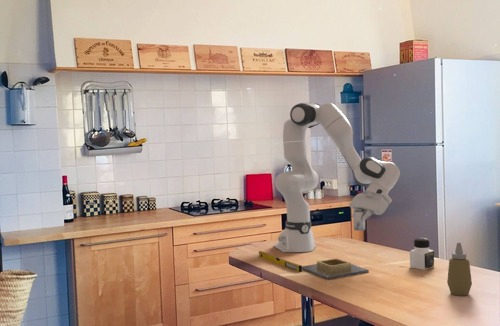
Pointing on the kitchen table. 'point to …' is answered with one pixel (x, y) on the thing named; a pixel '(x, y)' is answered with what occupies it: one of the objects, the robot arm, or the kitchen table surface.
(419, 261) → the medicine bottle
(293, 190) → the robot arm
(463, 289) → the squeeze bottle
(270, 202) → the kitchen table surface
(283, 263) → the spirit level
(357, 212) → the domed metal canister
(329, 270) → the collar plate
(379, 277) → the kitchen table surface
